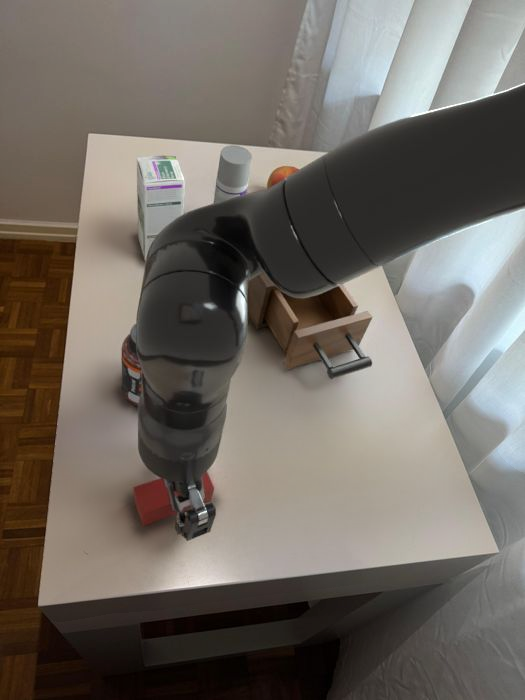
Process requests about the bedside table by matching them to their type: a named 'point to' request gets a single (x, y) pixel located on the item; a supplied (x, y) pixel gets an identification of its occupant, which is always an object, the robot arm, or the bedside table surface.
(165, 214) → the syrup box
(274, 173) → the apple
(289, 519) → the bedside table surface
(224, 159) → the container
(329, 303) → the drawer
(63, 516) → the bedside table surface
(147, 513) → the red rectangular brick
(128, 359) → the supplement bottle
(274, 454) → the bedside table surface
